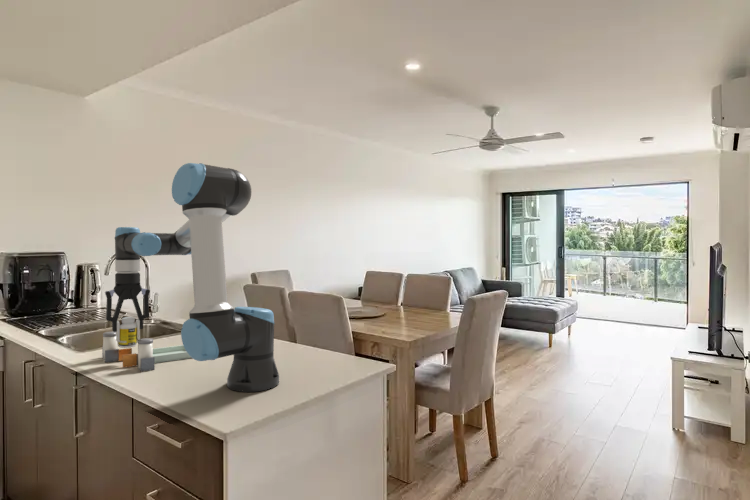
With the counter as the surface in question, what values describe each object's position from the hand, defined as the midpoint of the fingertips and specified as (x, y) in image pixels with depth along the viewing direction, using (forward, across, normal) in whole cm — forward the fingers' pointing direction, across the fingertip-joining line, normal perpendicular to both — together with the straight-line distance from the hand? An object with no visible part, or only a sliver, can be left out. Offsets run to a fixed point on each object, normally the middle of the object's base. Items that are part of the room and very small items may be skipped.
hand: (127, 339), depth 156 cm
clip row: (+8, 0, 0) cm, 8 cm away
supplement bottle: (+3, 0, 0) cm, 3 cm away
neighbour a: (+8, -4, +8) cm, 13 cm away
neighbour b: (+8, +4, -10) cm, 13 cm away
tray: (+8, -14, -2) cm, 16 cm away
